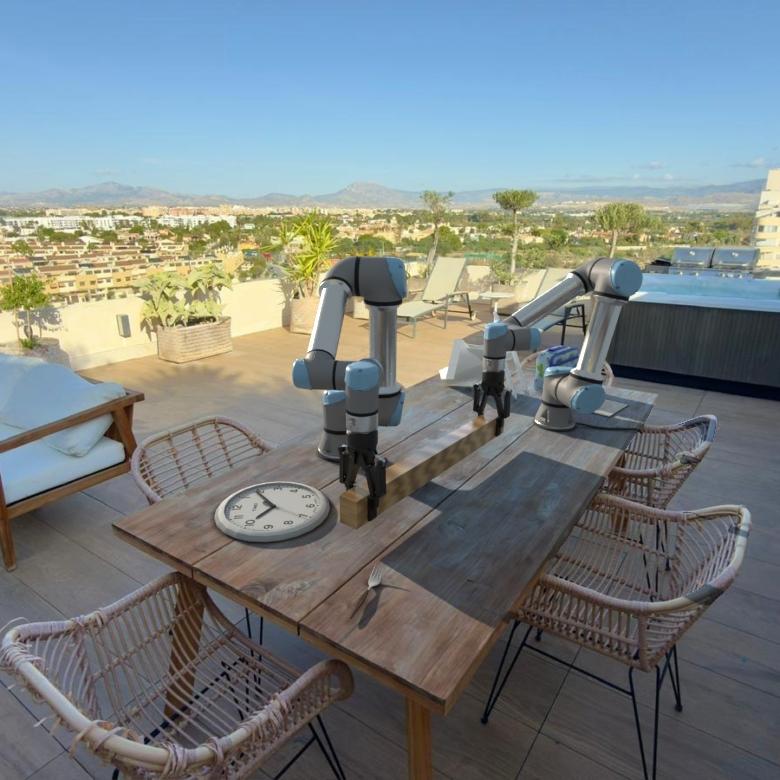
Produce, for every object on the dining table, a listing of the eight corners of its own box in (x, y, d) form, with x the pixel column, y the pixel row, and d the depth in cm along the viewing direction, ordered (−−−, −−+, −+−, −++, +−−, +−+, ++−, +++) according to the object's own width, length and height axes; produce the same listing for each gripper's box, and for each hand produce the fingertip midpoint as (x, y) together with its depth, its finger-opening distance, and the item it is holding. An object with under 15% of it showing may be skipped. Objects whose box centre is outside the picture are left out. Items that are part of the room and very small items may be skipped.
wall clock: (328, 534, 126) (200, 538, 124) (328, 540, 127) (201, 544, 124) (331, 477, 155) (227, 479, 152) (331, 482, 155) (227, 484, 153)
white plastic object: (461, 429, 252) (437, 405, 227) (444, 352, 274) (420, 323, 250) (535, 404, 240) (518, 377, 215) (510, 326, 262) (492, 293, 237)
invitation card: (608, 416, 214) (573, 407, 224) (608, 416, 214) (573, 408, 224) (628, 404, 229) (594, 396, 238) (628, 405, 229) (594, 397, 238)
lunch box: (550, 398, 235) (555, 353, 229) (529, 393, 243) (534, 349, 236) (577, 387, 253) (583, 345, 247) (557, 382, 260) (562, 341, 254)
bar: (489, 428, 188) (491, 409, 186) (503, 432, 185) (505, 412, 183) (339, 522, 128) (339, 495, 125) (356, 529, 124) (356, 502, 122)
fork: (344, 619, 101) (343, 610, 101) (374, 571, 116) (374, 563, 115) (356, 623, 100) (356, 614, 100) (385, 574, 115) (385, 566, 114)
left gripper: (322, 423, 125) (324, 508, 132) (383, 443, 114) (382, 534, 122) (343, 414, 131) (344, 496, 138) (403, 433, 120) (401, 520, 128)
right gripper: (463, 367, 178) (461, 430, 185) (514, 376, 167) (509, 443, 174) (474, 362, 184) (471, 424, 191) (524, 371, 173) (519, 436, 180)
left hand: (362, 514), depth 130 cm, fingers closed on bar, 5 cm apart
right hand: (489, 433), depth 183 cm, fingers closed on bar, 5 cm apart
